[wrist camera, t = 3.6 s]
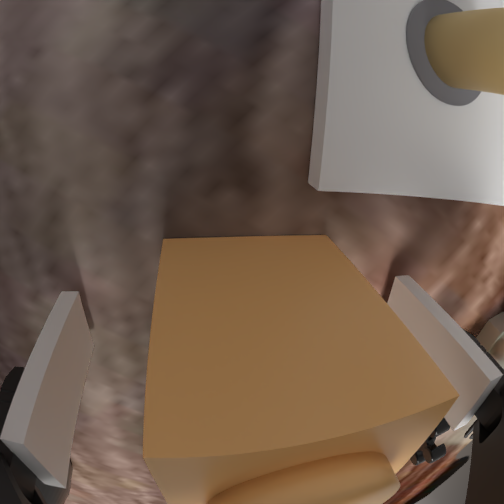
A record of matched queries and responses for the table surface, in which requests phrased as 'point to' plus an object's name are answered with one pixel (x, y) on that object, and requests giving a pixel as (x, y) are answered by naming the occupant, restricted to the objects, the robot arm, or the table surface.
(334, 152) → the plate
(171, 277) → the domed tan cube
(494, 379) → the robot arm
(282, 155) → the table surface
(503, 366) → the valve
